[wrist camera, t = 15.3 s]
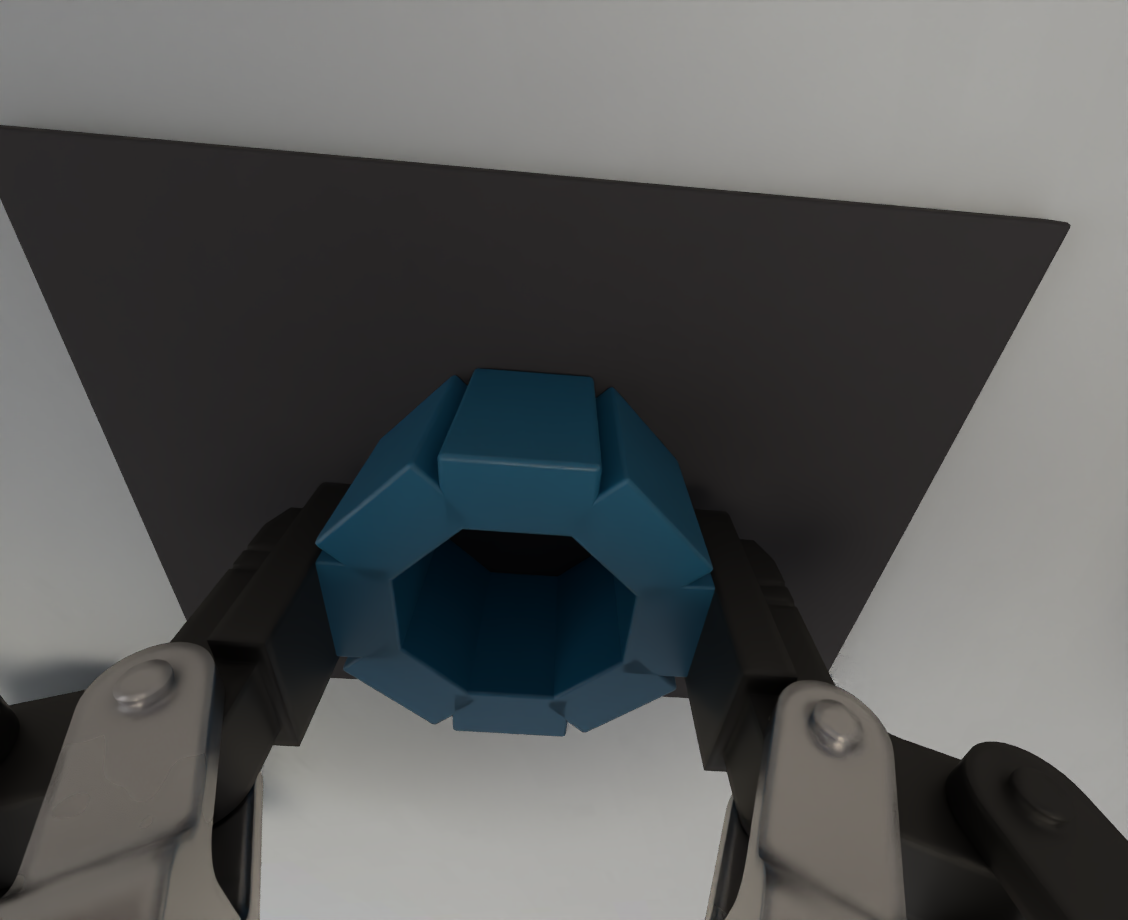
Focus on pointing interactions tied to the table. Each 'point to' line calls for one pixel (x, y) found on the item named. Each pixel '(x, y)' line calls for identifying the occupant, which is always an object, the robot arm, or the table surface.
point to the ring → (517, 601)
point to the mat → (512, 336)
